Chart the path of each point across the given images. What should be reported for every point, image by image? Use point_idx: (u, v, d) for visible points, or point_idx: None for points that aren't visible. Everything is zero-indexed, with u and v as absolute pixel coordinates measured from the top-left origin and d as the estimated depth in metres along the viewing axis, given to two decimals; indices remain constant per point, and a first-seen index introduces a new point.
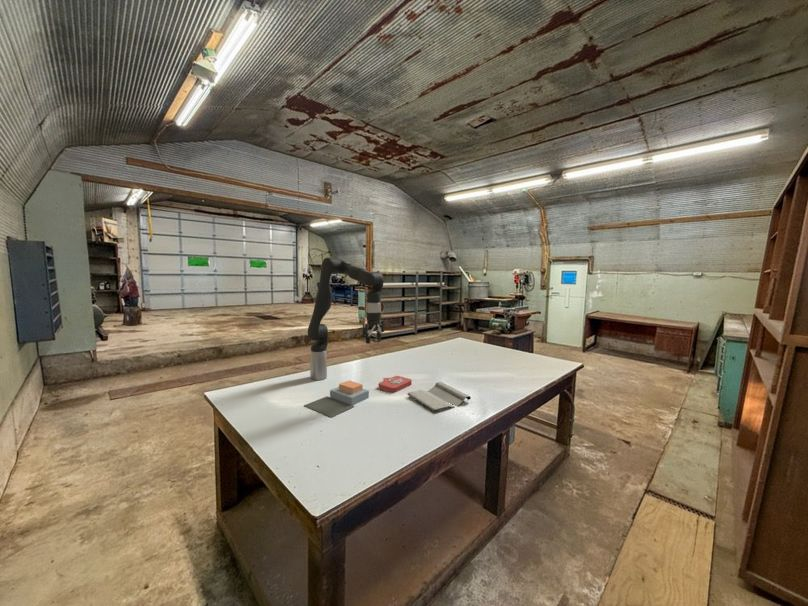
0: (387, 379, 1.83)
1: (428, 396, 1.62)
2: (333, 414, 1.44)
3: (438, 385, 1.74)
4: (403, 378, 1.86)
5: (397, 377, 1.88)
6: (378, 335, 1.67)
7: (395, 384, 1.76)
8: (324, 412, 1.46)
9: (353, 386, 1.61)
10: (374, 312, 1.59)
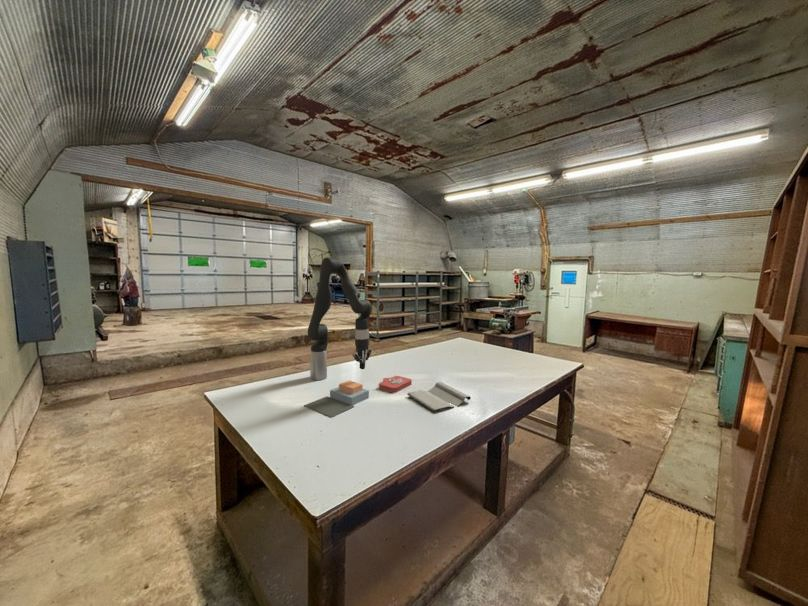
0: (387, 380, 1.83)
1: (428, 396, 1.62)
2: (333, 414, 1.44)
3: (438, 385, 1.74)
4: (403, 378, 1.86)
5: (397, 377, 1.88)
6: None
7: (395, 384, 1.76)
8: (324, 412, 1.46)
9: (353, 386, 1.61)
10: (362, 339, 1.65)
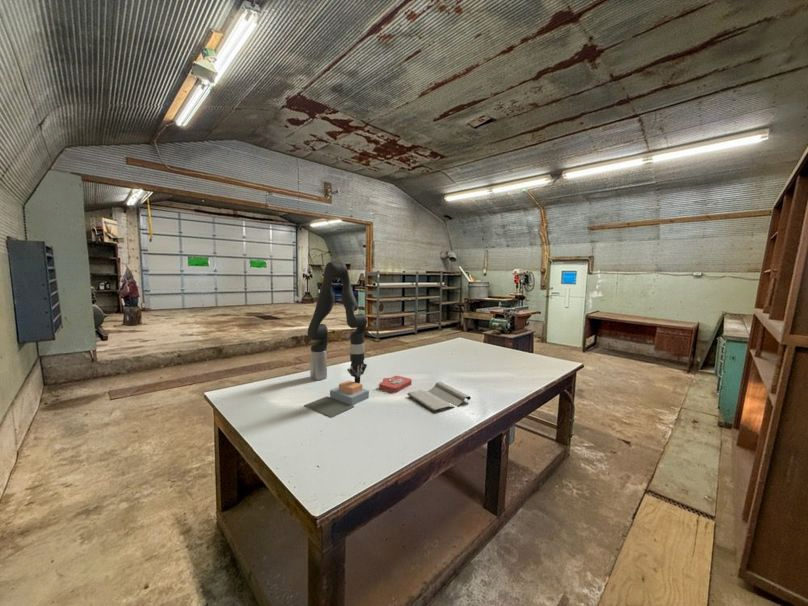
0: (387, 380, 1.83)
1: (428, 396, 1.62)
2: (333, 414, 1.44)
3: (438, 385, 1.74)
4: (403, 378, 1.86)
5: (397, 377, 1.88)
6: None
7: (396, 384, 1.76)
8: (324, 412, 1.46)
9: (353, 386, 1.61)
10: (357, 353, 1.62)
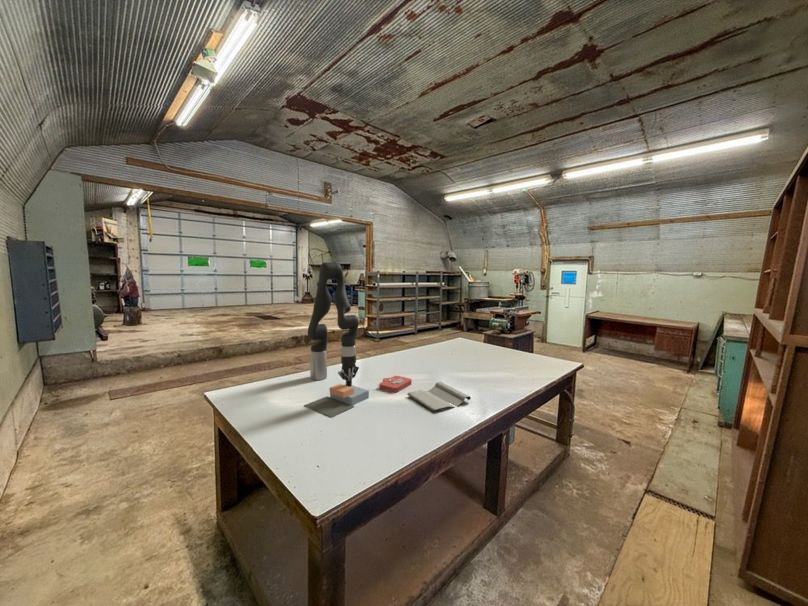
0: (387, 380, 1.83)
1: (428, 396, 1.62)
2: (333, 414, 1.44)
3: (438, 385, 1.74)
4: (403, 378, 1.86)
5: (396, 377, 1.88)
6: None
7: (396, 384, 1.76)
8: (324, 412, 1.46)
9: (344, 390, 1.55)
10: (348, 356, 1.57)
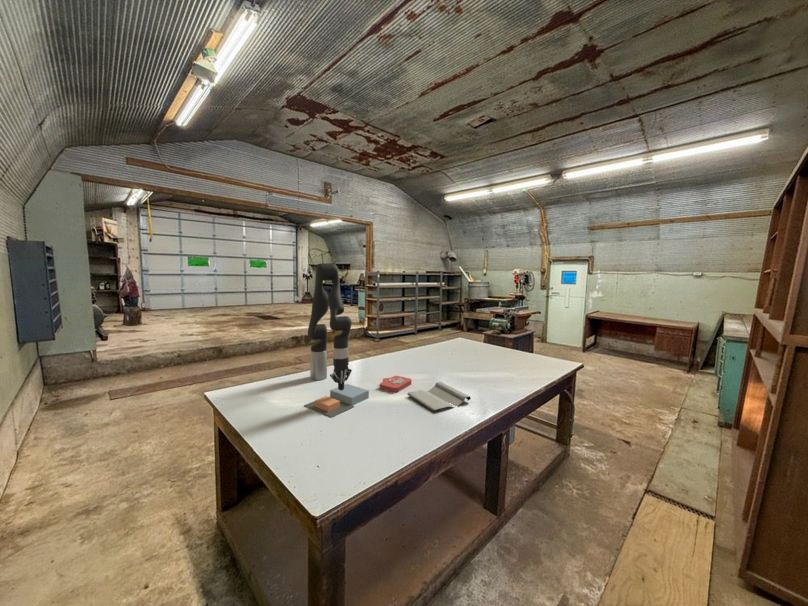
0: (387, 380, 1.83)
1: (428, 396, 1.62)
2: (333, 414, 1.44)
3: (438, 385, 1.74)
4: (403, 378, 1.86)
5: (396, 377, 1.88)
6: None
7: (396, 384, 1.76)
8: (324, 412, 1.46)
9: None
10: (340, 358, 1.53)
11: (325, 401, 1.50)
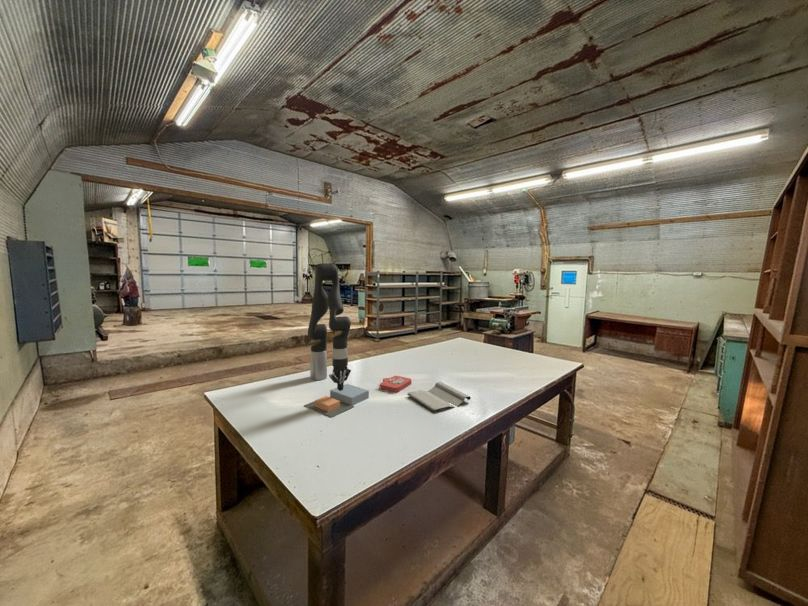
0: (388, 380, 1.83)
1: (428, 396, 1.62)
2: (333, 414, 1.44)
3: (438, 385, 1.74)
4: (403, 378, 1.87)
5: (396, 377, 1.88)
6: None
7: (397, 384, 1.76)
8: (324, 412, 1.46)
9: None
10: (340, 358, 1.53)
11: (325, 401, 1.50)
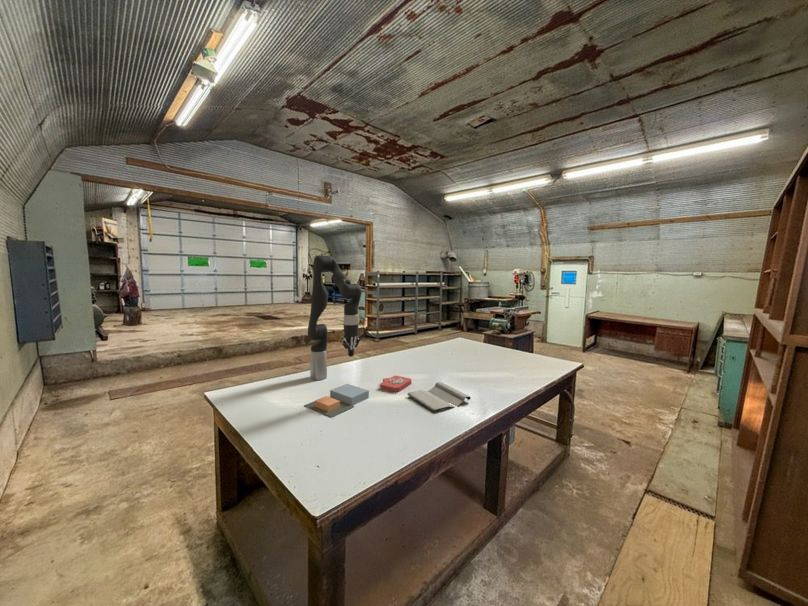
0: (388, 380, 1.83)
1: (428, 396, 1.62)
2: (333, 414, 1.44)
3: (438, 385, 1.74)
4: (402, 378, 1.87)
5: (396, 377, 1.88)
6: None
7: (397, 384, 1.76)
8: (324, 412, 1.46)
9: None
10: (351, 324, 1.57)
11: (325, 401, 1.50)
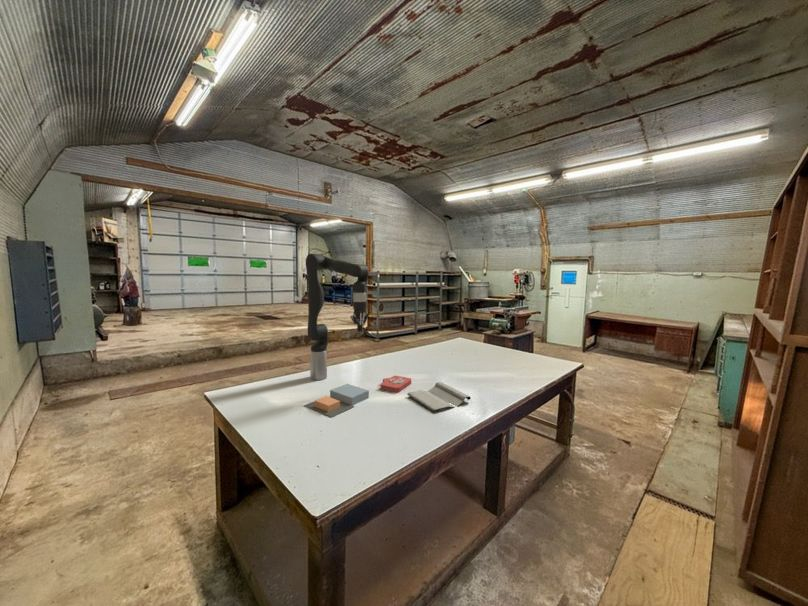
0: (388, 380, 1.82)
1: (428, 396, 1.62)
2: (333, 414, 1.44)
3: (438, 385, 1.74)
4: (402, 377, 1.87)
5: (396, 377, 1.88)
6: None
7: (397, 384, 1.76)
8: (324, 412, 1.46)
9: None
10: (360, 301, 1.71)
11: (325, 401, 1.50)
